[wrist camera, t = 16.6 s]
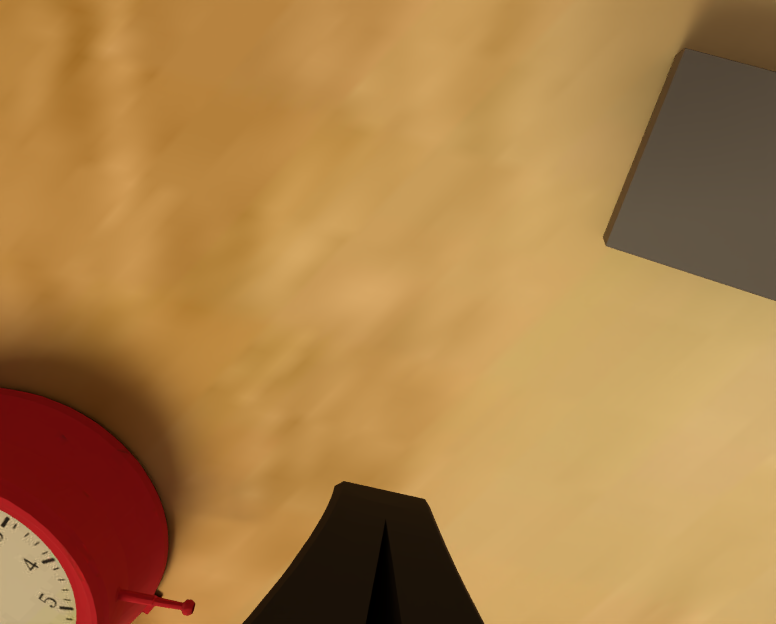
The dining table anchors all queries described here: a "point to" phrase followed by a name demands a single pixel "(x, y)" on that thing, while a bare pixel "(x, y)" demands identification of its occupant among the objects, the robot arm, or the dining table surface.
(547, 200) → the dining table surface
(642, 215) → the domino
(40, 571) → the alarm clock
